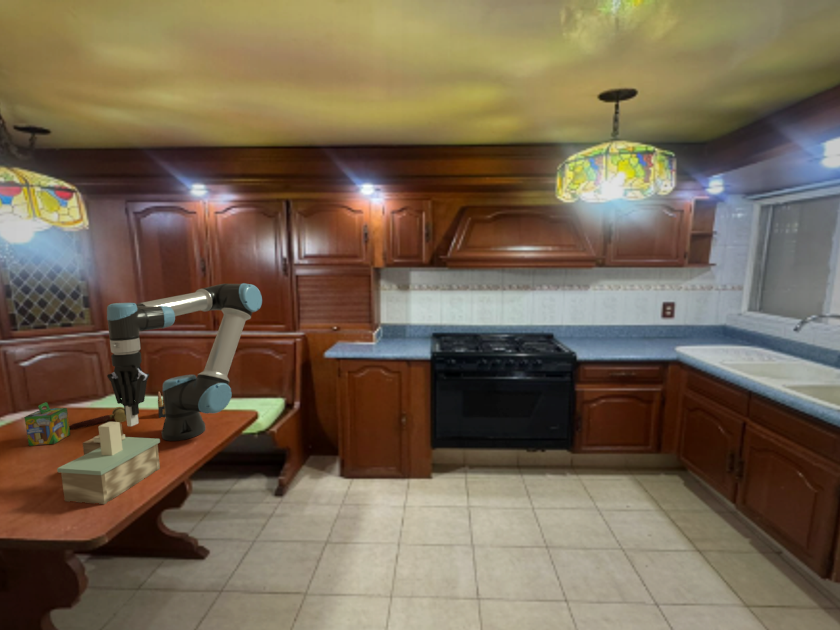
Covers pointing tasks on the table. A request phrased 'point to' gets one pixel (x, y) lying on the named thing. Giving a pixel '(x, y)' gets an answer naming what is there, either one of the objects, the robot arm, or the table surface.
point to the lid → (108, 452)
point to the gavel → (102, 419)
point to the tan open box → (109, 477)
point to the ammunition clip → (160, 406)
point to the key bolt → (97, 438)
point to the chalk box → (47, 425)
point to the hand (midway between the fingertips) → (133, 424)
